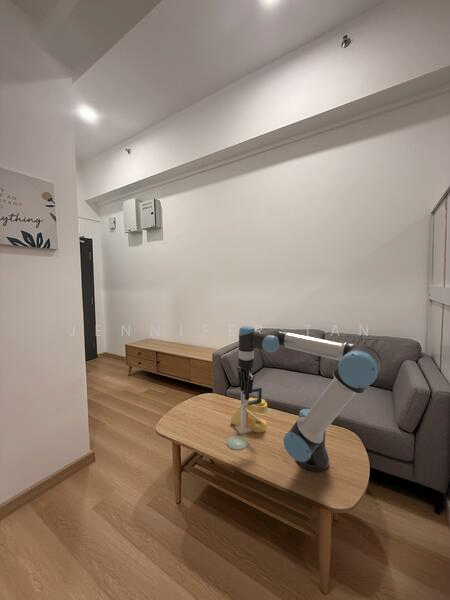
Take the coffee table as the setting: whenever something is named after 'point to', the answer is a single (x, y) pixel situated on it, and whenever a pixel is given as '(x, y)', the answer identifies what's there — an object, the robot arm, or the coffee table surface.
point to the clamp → (250, 421)
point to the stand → (242, 427)
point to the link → (257, 396)
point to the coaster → (237, 442)
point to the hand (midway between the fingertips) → (244, 404)
